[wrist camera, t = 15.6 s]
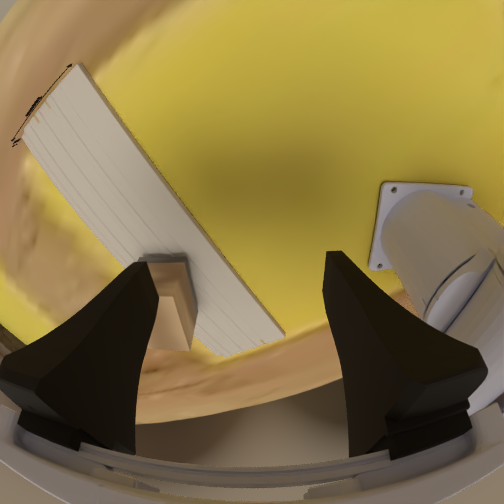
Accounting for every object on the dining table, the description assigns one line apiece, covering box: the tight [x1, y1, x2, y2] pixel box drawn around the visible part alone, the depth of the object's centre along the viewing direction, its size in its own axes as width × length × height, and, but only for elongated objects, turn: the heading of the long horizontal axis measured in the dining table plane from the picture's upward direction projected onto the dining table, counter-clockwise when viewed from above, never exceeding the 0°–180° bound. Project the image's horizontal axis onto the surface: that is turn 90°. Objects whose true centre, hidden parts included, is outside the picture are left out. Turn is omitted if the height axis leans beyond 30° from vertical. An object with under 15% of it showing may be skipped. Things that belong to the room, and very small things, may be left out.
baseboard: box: [11, 64, 285, 357], centre depth 22 cm, size 30×3×10 cm
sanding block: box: [137, 256, 198, 351], centre depth 21 cm, size 4×6×4 cm, turn 2°
